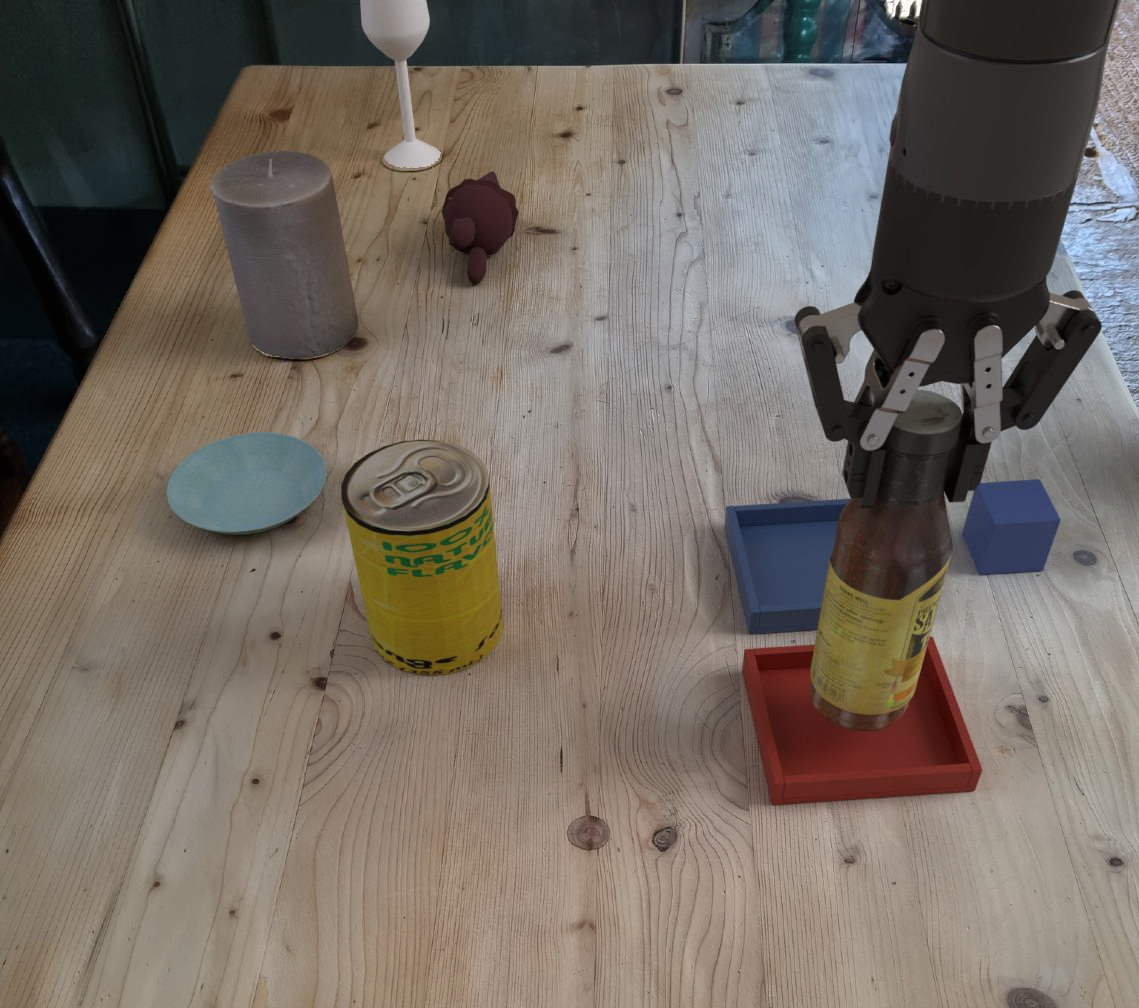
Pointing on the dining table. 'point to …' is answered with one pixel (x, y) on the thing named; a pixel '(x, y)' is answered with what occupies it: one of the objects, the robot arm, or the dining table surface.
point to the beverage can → (425, 554)
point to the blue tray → (782, 561)
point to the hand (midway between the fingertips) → (907, 494)
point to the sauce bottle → (887, 576)
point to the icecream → (479, 221)
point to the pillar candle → (287, 252)
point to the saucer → (246, 483)
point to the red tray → (854, 736)
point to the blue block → (1010, 527)
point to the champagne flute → (400, 66)
